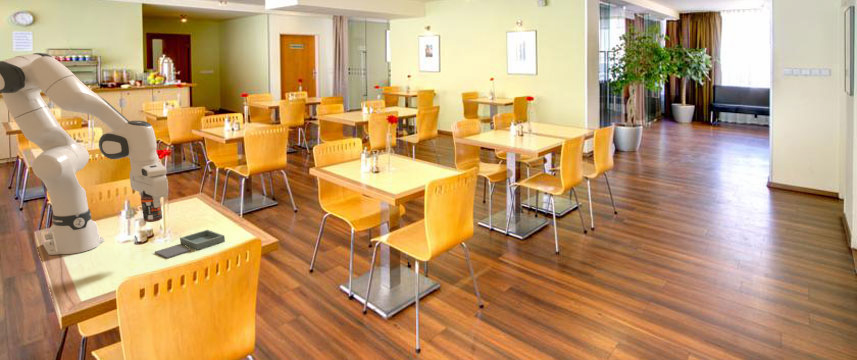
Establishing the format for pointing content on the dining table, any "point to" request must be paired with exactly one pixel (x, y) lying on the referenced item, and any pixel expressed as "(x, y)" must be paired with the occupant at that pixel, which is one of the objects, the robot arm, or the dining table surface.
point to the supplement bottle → (150, 209)
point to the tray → (202, 239)
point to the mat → (172, 251)
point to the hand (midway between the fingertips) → (151, 205)
